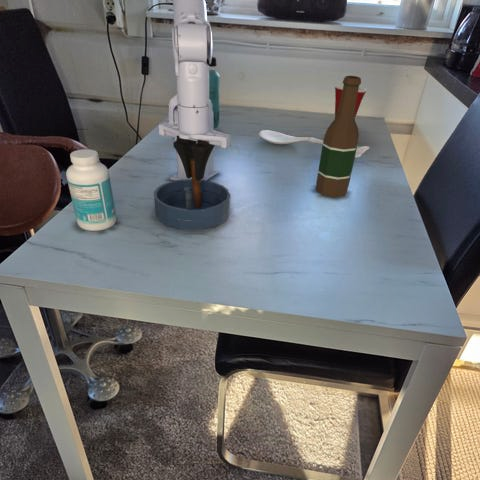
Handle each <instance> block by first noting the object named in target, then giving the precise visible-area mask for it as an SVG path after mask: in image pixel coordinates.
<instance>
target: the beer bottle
mask: <svg viewBox="0 0 480 480" xmlns="http://www.w3.org/2000/svg"><path fill="white" fill-rule="evenodd" d="M361 84H362V79H361V77H360V76H357V75H346V76H344V78H343V80H342V85H344V86H343V90H342V94H341V98H340V103H339V107H338V111H337V114H336V117H335V116H334V120H332V122H331V123H330V125H329V126H328V128H327V129H326V131H325V133H324V136H323V139H322V140H323V145H322V144H321V152H320V158H319V163H318V170H317V176H316V183H315V192H316V193H318V194H319V195H320V196H322V197H325V198H326V197H327V198H332V199H336V198H342V197H343V198H344V197H345V196H346V194H347V192H348V189H349V185H350V181H351V176H352V171H353V167H354V162H355V159H356V158H355V154H356V149H357V148H358V146H359V145H358V143H359V137H360V134H359V127H358V125H357V123H356V117H355V110H356V103H357V96H358V89H359V87H360V85H361Z"/></svg>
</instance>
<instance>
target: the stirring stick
mask: <svg viewBox="0 0 480 480" xmlns="http://www.w3.org/2000/svg"><path fill="white" fill-rule="evenodd" d="M190 163H191V175H192V187H193V198H194V206H195V207H201V206H202V203H201V189H200V180H199V181H198V180H196V178H195V162H194V158H192V159H190Z"/></svg>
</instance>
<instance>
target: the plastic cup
mask: <svg viewBox="0 0 480 480" xmlns="http://www.w3.org/2000/svg"><path fill="white" fill-rule="evenodd" d="M343 86H344V84H334V91H335V92H334V93H335V95H334V97H335V99H334V100H335V101H334V118H335V117H336V114H337V111H338V107H339V103H340V98H341V94H342V90H343ZM367 92H368V89H367V88H364V87H361V86H359V89H358V96H357V103H356V110H355V118H356V117H357V114H358V112H359V108H360V106H361V103H362V101H363V99H364V97H365V95H366V93H367Z"/></svg>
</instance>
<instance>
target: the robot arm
mask: <svg viewBox="0 0 480 480" xmlns="http://www.w3.org/2000/svg"><path fill="white" fill-rule="evenodd" d="M172 1H173V2H172V8H173V12H172V13H173V26H172V28H171V41H172V42H171V43H172V58H173V64H174V70H175V71H174V72H175V76H176V79H175V80H176V93H175V95H173V96H171V97H170V99H169V102H168V122H165V121H164V122H161V123H159V124H158V135H159V136H169V137H171V138H172V139H174V141H173V145H172V146H173V148H174V149H175V154H176V170H177V171H176V173H175V174H172V175H171V176H170V177H169V179H170V180H172V181H176V180H182V179H192V175H191V163H190V159H192V158H194V162H195V178H196V180H198V181H199V180H207V181H209V180H211V178H213V177H214V176H216V175H217V174H218V172H217V171H215V168H214V167H215V164H214V163H215V146H219V147H221V148H222V149H227V148H229V147H231V143H232V139H231V138H232V135H231V134H227V133H225V132H224V133H223V132H221V131H218V130H216V129H215V128H214V123H213V111H212V103H211V100H210V99H209V70H210V67H209V65H208V64H207V58H208V60H209V64H211V59H212V57H213V33H212V28H211V27H212V26H211V23H210V21H209V20H208V14H207V4H206V0H172Z"/></svg>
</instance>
